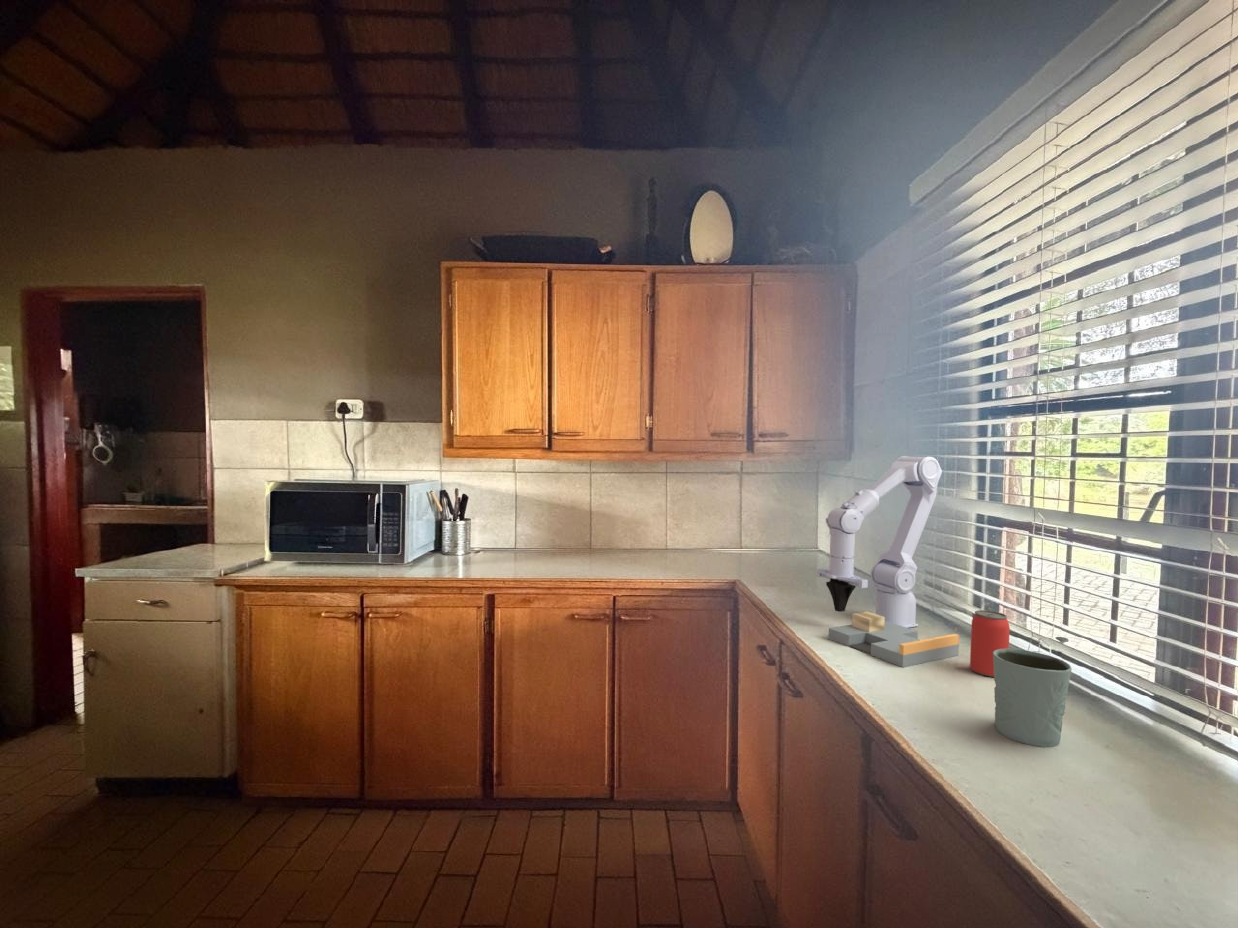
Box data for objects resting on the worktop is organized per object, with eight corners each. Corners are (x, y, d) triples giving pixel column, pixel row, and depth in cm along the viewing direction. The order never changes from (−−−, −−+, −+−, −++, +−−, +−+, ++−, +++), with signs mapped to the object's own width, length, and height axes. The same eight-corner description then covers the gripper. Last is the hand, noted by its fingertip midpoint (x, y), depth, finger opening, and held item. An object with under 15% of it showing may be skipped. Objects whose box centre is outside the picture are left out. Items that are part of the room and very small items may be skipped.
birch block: (866, 623, 144) (867, 611, 144) (884, 629, 140) (884, 616, 140) (851, 626, 142) (852, 613, 142) (869, 632, 138) (869, 619, 138)
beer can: (972, 675, 119) (975, 615, 119) (967, 664, 125) (969, 607, 125) (1011, 680, 116) (1013, 619, 116) (1003, 669, 122) (1006, 611, 122)
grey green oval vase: (976, 724, 97) (978, 651, 97) (1016, 715, 101) (1019, 645, 101) (1041, 754, 88) (1044, 674, 87) (1083, 742, 92) (1086, 665, 91)
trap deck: (881, 629, 148) (882, 611, 148) (958, 655, 130) (959, 635, 130) (828, 638, 140) (829, 619, 140) (902, 667, 122) (903, 645, 122)
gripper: (808, 552, 153) (806, 604, 153) (853, 562, 140) (851, 620, 140) (828, 551, 156) (826, 602, 156) (874, 561, 143) (872, 617, 144)
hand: (839, 610), depth 149 cm, fingers closed
